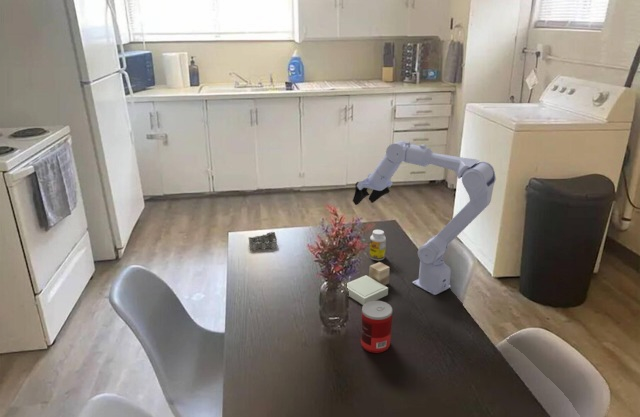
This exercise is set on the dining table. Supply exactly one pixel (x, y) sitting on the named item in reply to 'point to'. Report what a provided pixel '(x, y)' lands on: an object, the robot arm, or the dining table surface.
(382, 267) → the beech block
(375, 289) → the plinth
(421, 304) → the dining table surface
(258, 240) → the egg carton
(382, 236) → the supplement bottle
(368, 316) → the canned food
